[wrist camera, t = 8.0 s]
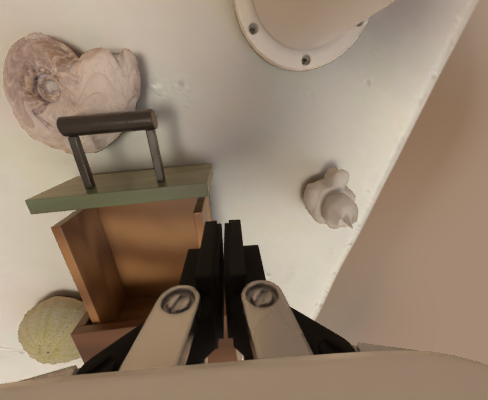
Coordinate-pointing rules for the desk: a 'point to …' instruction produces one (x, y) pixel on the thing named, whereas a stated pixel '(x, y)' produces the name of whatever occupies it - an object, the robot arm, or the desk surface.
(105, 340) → the cabinet
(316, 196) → the rubber duck
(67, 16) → the desk surface
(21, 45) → the fossil
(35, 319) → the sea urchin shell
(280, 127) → the desk surface
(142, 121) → the drawer
